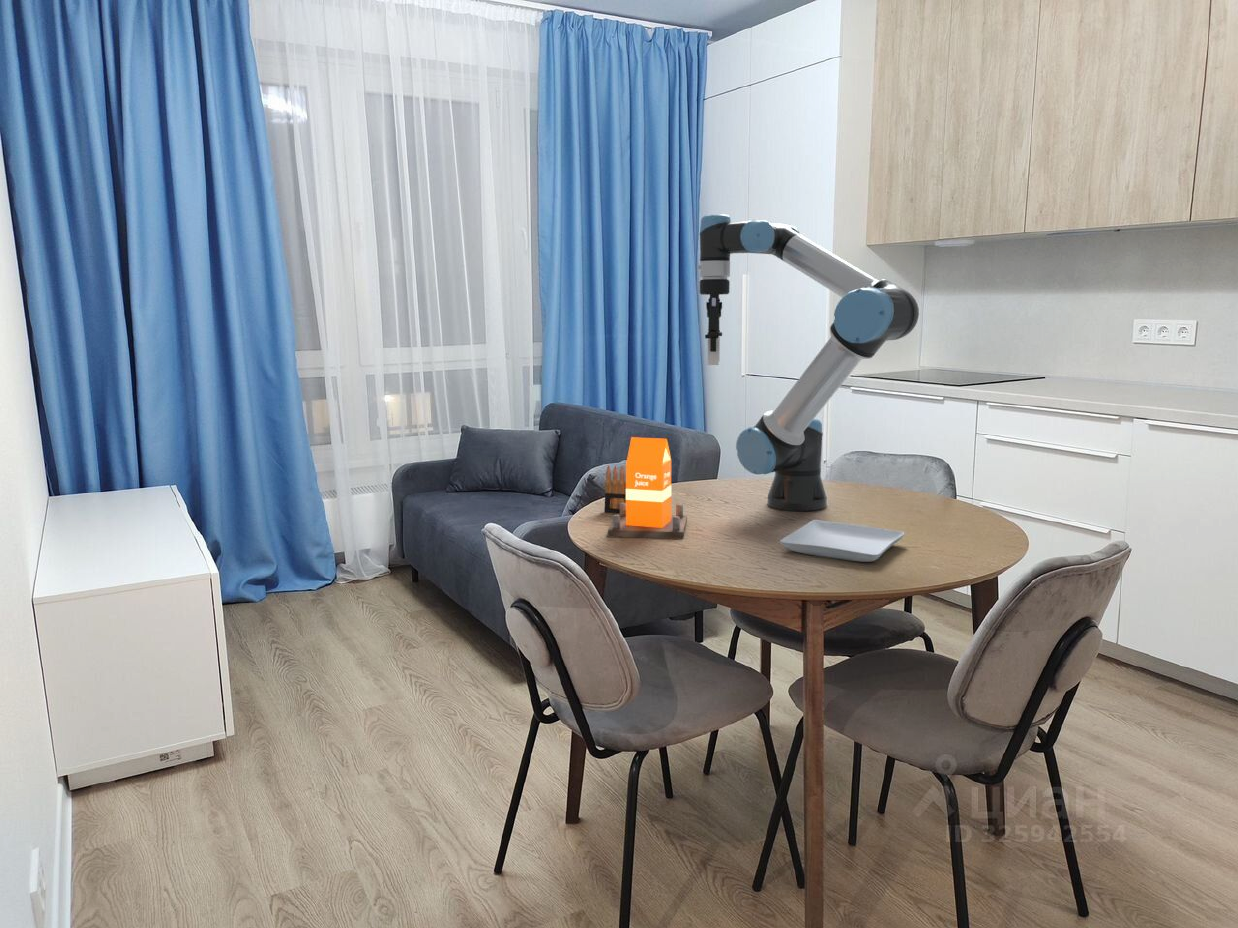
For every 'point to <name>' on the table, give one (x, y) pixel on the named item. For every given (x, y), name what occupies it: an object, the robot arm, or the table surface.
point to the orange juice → (648, 483)
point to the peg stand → (668, 531)
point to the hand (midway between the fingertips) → (713, 363)
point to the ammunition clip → (614, 491)
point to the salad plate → (841, 540)
